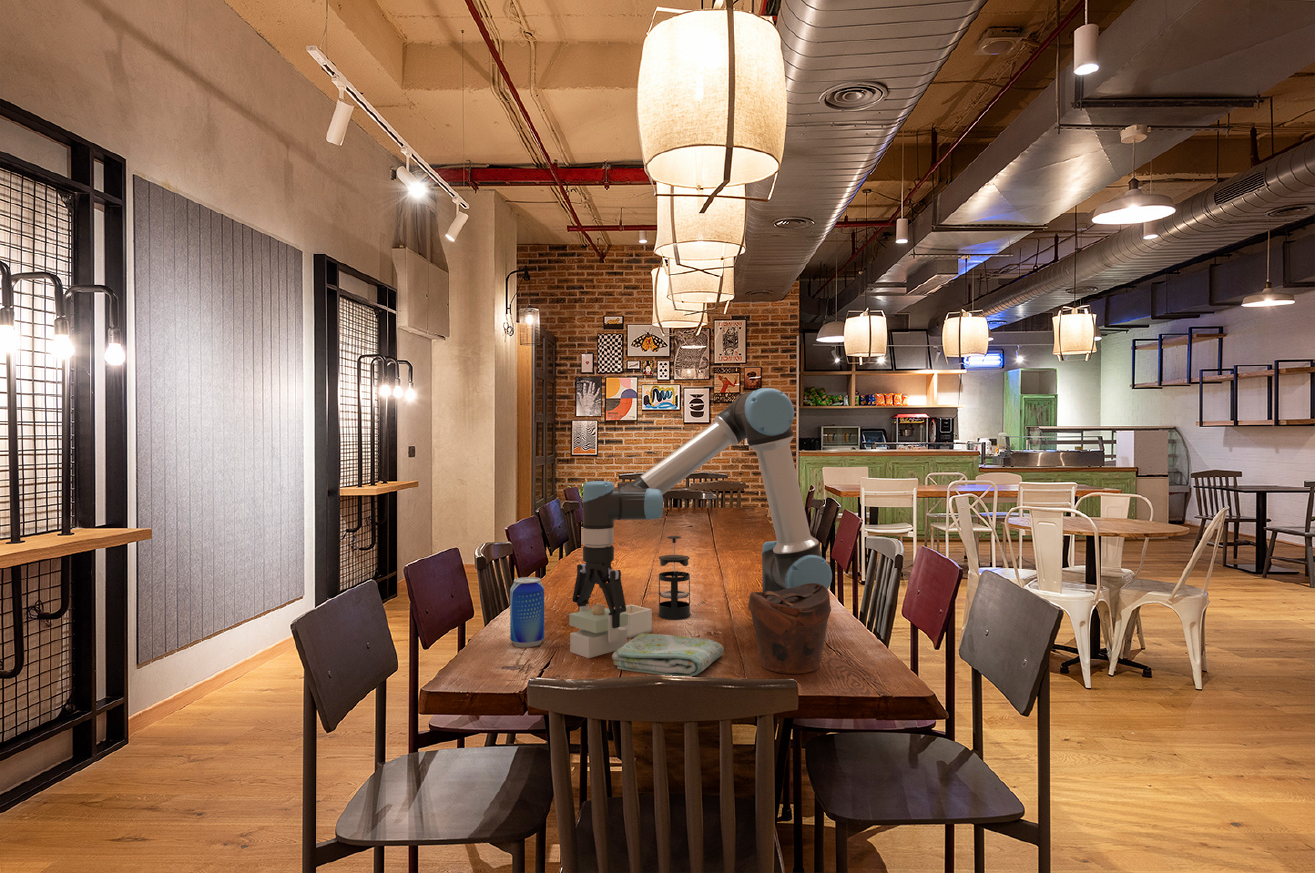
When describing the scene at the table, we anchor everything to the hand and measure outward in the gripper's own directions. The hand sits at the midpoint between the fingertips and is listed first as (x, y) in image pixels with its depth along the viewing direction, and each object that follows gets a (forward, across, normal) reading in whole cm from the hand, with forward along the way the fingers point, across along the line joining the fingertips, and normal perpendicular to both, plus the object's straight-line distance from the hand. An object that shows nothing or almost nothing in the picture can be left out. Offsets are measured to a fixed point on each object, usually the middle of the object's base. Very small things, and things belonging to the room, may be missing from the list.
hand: (598, 636), depth 173 cm
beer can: (+3, +17, +9) cm, 20 cm away
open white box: (+3, +6, -16) cm, 17 cm away
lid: (-3, 0, 0) cm, 3 cm away
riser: (+3, 0, 0) cm, 3 cm away
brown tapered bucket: (+3, -40, -22) cm, 46 cm away
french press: (+3, +10, -37) cm, 38 cm away
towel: (+4, -19, -5) cm, 20 cm away
